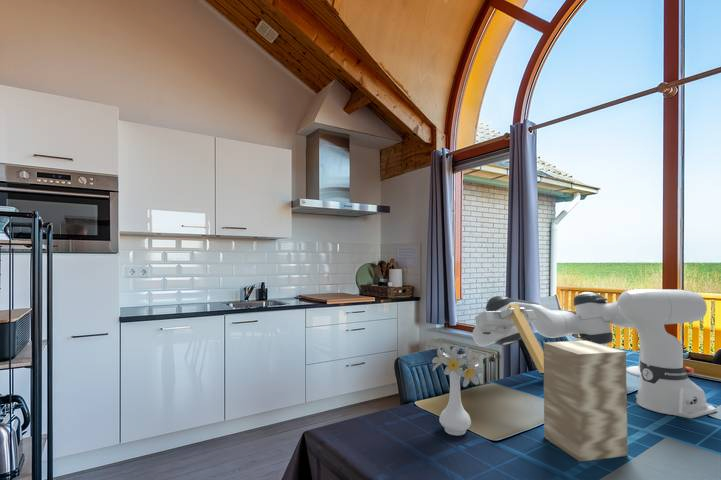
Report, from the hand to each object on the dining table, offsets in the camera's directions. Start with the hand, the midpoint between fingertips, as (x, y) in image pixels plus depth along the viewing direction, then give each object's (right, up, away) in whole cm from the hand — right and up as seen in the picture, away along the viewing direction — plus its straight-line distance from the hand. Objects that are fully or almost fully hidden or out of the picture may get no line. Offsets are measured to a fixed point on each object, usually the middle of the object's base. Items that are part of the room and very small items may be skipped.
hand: (517, 309), depth 134 cm
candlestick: (+68, -33, +35) cm, 83 cm away
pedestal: (+6, -31, -29) cm, 43 cm away
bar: (+1, -8, -5) cm, 10 cm away
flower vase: (-25, -31, -21) cm, 45 cm away
